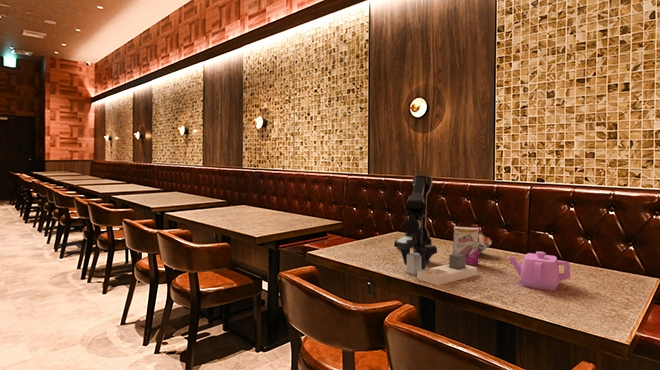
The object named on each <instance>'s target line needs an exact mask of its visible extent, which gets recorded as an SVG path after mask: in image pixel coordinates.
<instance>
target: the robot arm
mask: <svg viewBox="0 0 660 370" xmlns="http://www.w3.org/2000/svg"><path fill="white" fill-rule="evenodd" d="M412 186H413V190H412V194H410V195H409V196H408V199H407V201H406V202H405V205H404V206H405V208H404V213H403V214H404V215H403V216H404V217H407V220H406V221H405V223H404V230H405V233H404V234H405V236H402V237H400V238H399V239H395V241H394V244H393V245H394V247H395V248H396V250H398V251H399V252H400V254H401V256H402V259H403V262H404V265H405V266H407V254H411V249H412V251H413V252H412V253H419V254H420V256H421V267H422V270H425V268H427V267H426V266H427V265H428V263H431V257H432V256H433V255H435V254H438V247H436V246H435V245H433V244H432V239H431V236H430V233H429V231H428V229H427V208H428V207H427V200H428V195H429V193H430V192H431V189H432V186H433V178H432V176H429V175H428V176H427V175H426V174H416V175H414V176H412Z"/></svg>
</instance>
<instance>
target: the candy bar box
mask: <svg viewBox="0 0 660 370" xmlns="http://www.w3.org/2000/svg"><path fill="white" fill-rule="evenodd" d="M452 232H453V233H452V234H453V235H452V236H453V237H452V238H453V239H452V254H456V253H459V254H463V255H466V263H465V265H471V266H472V265H474V266H478V265H479V255H480V254H479V233H480V228H479V227H466V226H454V227H453V231H452Z"/></svg>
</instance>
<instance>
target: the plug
mask: <svg viewBox="0 0 660 370" xmlns="http://www.w3.org/2000/svg"><path fill="white" fill-rule="evenodd" d="M420 270H422V267H421V256H420V254H419V253H413V252H412V253H411V252H410V254H407V265H406V271H405V272H406V273H408V274H411V275H417V271H420Z"/></svg>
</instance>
